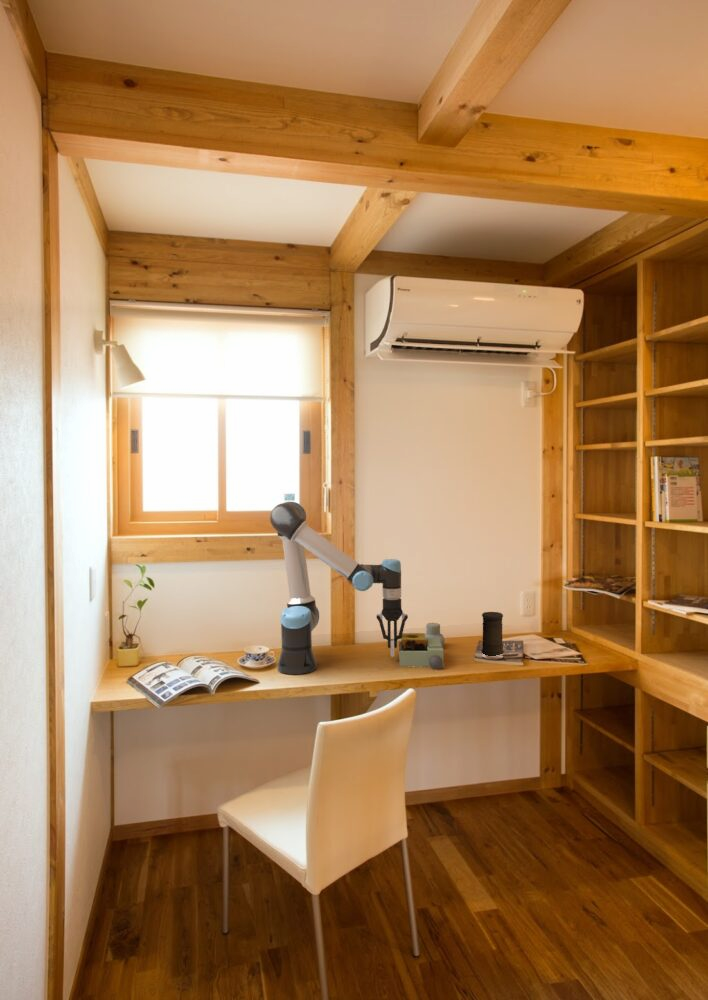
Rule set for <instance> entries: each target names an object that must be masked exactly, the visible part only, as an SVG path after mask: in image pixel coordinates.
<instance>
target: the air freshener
mask: <svg viewBox="0 0 708 1000" xmlns="http://www.w3.org/2000/svg"><path fill="white" fill-rule="evenodd" d="M425 629H426V632H425V638H440V640H441V644H442V647H443V646H445V644H446V643H445V636H444V635H443V634H442V633H441V624H440V623H437V622H429V623H427V624H426V628H425Z"/></svg>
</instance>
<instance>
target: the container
mask: <svg viewBox="0 0 708 1000" xmlns="http://www.w3.org/2000/svg"><path fill="white" fill-rule="evenodd" d="M481 617H482V644H481V645H482V649H481V654H482V653H483V654H485V655H488V656H496V655H500V654H504V653H505V652H504V650H503V649H504V647H503V646H504V644H503V617H504V615H503V613H502V612H498V611H486V612H485V611H484V612H483V613H482V614H481Z"/></svg>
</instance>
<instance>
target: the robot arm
mask: <svg viewBox="0 0 708 1000" xmlns="http://www.w3.org/2000/svg"><path fill="white" fill-rule="evenodd" d="M306 520H307V514H306V510H305V508H304V506H302V504H300V503H298V502H295V501H286V502H283V503H279V504H277V505H275V506H274V508H273V509H272V510H271V512H270V517H269V522H270V524H271V526H272V528H273V530H275V531H276V532H277V537H278V538H279V539H280V540H281V542H282V547H283V548H282V550H283V554H284V564H285V565H284V566H285V571H286V577H287V579H286V580H287V585H288V587H287V588H288V593H289V599H287V601H286V605H287V606H286V607H287V608H285V609H283V610H282V612H281V616H280V623H281V624H280V625H281V627H280V628H281V652H280V655H279V658H278V660H277V671H278V672H279V671H280V672H279V673H281V672H282V674H284V673H288V674H287V675H293V674H297V675H303V674H302V673H306V674H310V673H312V672H315V671H316V670H317V660H316V657H315V655H314V651H313V648H312V647H313V646H312V641H313V640H312V632H313V630H314V629H315V628H317V625H318V623H319V620H320V611H319V608H318V607H317V604H316V598H315V597H314V596H313V595H311V588H310V587H311V586H310V581H309V579H310V578H309V573H308V572H309V571H308V564H307V558H306V550H307V551H308V552H310V553H311V554H312V555H314V556H315V557H316V558H318V559H319V560H321V562H323V563H324V564H326V565H327V566H328V567H330V568H331V569H333V571H336V573H338V574H339V575H341V577H343V578H344V579H346V580H347V581H348V582H349V583H351V584H352V585H353V587H354V589H355V590H356V591H360V592H366V591H368V590H369V589H371V588H372V587H373V585H374V584H382V609H381V612H380V613H379V614H378V613H377V614H376V617H375V618H376V620H377V621H378V623H379V627H380V630H381V635H382V638H383V640H387V648H388V649H390V657H391V658H392V657H393V658H394V657H395V649H397V648H398V641H399V640H401V638H402V633H404V628H405V626H406V625H405V624H406V621H407V619H409V615H408V614H406V613H404V612H403V610H402V563H401V561H400V560H399V559H395V558H389V559H387V558H386V559H383V560H382V562H381V564H363V563H361V564H360V563H358V562H357V561H356V560H355V559H353V558H352V557H350V556H349V555H348V554H346V553H345V552H344V551H343V550H342V549H340V548H338V547H337V546H336V545H334V543H332V542H331V541H329V540H328V539H326V538H325V537H324V536H322V535H321V534H320V533H318V532H317V531H316V530H314V529H313V528H312V527H310V526H309V525H308V524H307V521H306ZM383 618H385V620H386V622H387V633H386V630H385V626H384V622H383ZM400 618H401V625H400V628H399V632H398V621H399V620H400ZM391 622H393V638H391V637H392V631H391V625H392V624H391ZM315 669H316V670H315ZM309 672H310V673H309Z"/></svg>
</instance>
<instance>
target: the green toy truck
mask: <svg viewBox="0 0 708 1000" xmlns="http://www.w3.org/2000/svg"><path fill="white" fill-rule="evenodd" d="M398 657H399V668H408V667H407V666H410V667H409V668H413V667H412V666H415V667H414V668H425V667H424V666H428V667H431V668H430V669H432V670H434V669H438V670H440V669H442V668H441V667H443V668H444V648H443V646H442V644H441V640H440V638H426V651H401V640H398ZM402 666H403V667H402ZM420 666H421V667H420ZM428 667H427V668H428Z"/></svg>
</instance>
